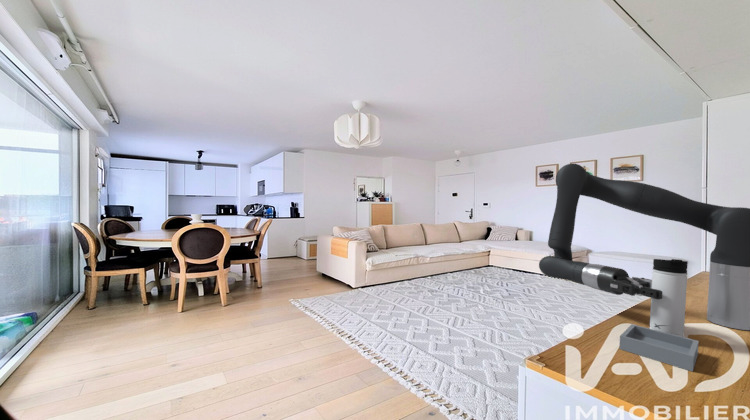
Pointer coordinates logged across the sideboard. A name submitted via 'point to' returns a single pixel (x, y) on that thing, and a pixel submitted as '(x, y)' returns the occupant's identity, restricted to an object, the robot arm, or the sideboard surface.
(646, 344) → the tray
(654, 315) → the travel mug
